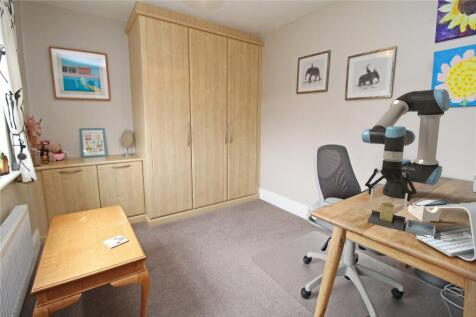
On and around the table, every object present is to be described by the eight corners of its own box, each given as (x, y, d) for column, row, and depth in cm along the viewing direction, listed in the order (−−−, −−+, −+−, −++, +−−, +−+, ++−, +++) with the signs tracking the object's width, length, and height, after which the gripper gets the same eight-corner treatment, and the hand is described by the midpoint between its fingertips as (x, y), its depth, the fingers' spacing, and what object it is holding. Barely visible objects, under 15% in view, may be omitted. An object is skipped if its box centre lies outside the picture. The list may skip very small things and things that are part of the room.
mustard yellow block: (381, 219, 116) (382, 201, 114) (392, 222, 113) (395, 203, 111) (379, 223, 112) (380, 204, 110) (391, 226, 109) (393, 206, 107)
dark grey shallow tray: (371, 215, 121) (372, 210, 120) (404, 223, 112) (405, 217, 111) (367, 222, 113) (368, 216, 113) (402, 230, 104) (403, 224, 104)
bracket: (438, 223, 112) (440, 208, 111) (421, 222, 113) (423, 207, 112) (423, 212, 124) (424, 198, 123) (408, 211, 126) (409, 198, 124)
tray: (407, 223, 111) (407, 219, 111) (434, 229, 105) (435, 225, 104) (405, 231, 104) (405, 227, 103) (434, 238, 97) (435, 233, 97)
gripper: (360, 158, 112) (357, 200, 116) (426, 164, 96) (420, 213, 100) (364, 156, 118) (360, 196, 121) (427, 162, 102) (421, 208, 105)
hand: (387, 204), depth 111 cm, fingers open, 13 cm apart
